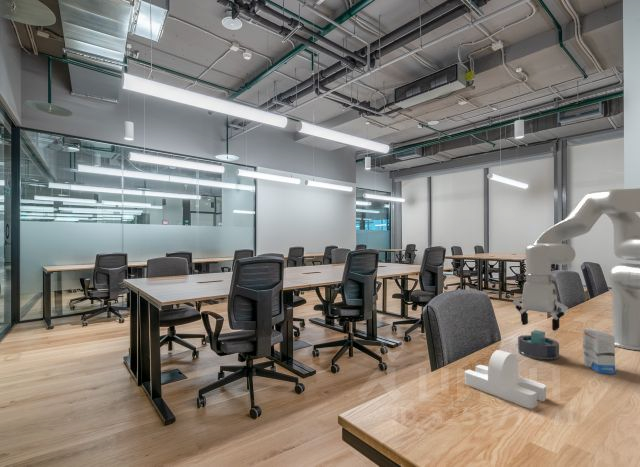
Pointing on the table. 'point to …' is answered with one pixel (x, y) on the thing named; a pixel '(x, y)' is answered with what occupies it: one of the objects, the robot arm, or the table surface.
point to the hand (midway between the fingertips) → (539, 327)
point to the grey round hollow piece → (538, 348)
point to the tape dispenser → (505, 380)
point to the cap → (538, 337)
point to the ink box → (599, 350)
